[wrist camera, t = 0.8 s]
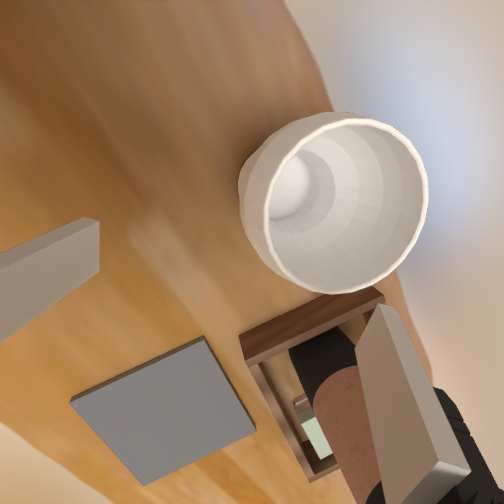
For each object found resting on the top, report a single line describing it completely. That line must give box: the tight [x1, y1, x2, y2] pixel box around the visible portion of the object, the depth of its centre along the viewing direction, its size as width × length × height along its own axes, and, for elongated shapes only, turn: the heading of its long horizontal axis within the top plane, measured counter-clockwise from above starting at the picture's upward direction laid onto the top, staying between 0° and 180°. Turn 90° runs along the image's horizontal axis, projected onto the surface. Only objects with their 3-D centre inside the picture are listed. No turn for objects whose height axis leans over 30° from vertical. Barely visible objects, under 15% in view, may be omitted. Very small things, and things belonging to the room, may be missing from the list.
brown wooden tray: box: [239, 286, 386, 483], centre depth 37 cm, size 22×16×4 cm
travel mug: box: [289, 326, 386, 504], centre depth 28 cm, size 8×8×20 cm
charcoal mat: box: [69, 336, 257, 486], centre depth 36 cm, size 16×16×1 cm
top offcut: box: [298, 408, 333, 460], centre depth 38 cm, size 8×11×1 cm
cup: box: [238, 112, 429, 295], centre depth 23 cm, size 11×11×15 cm
